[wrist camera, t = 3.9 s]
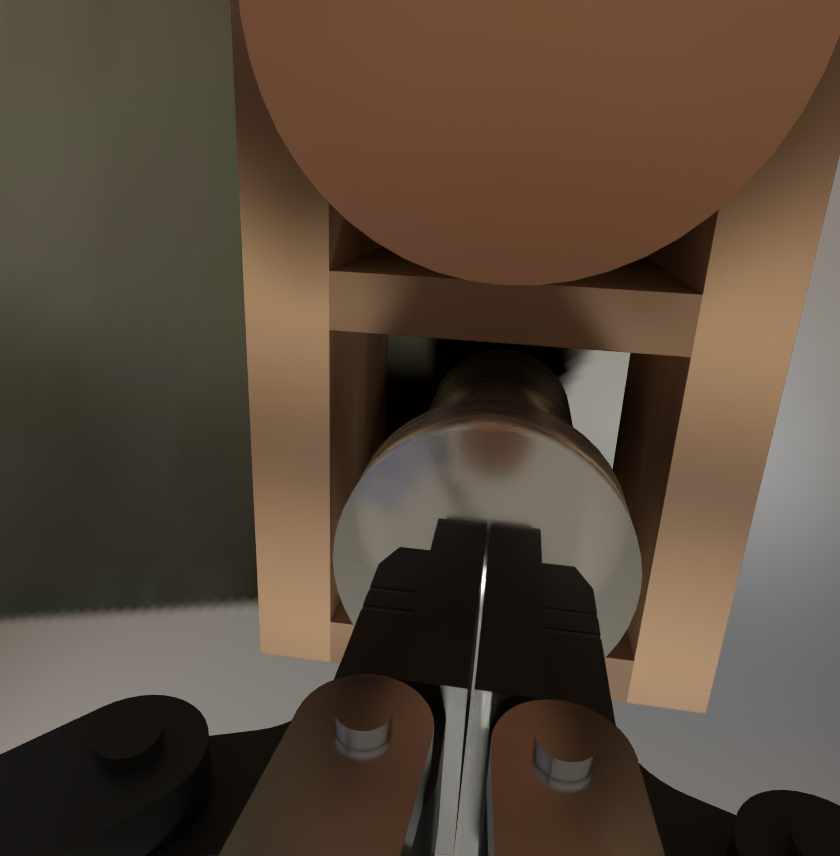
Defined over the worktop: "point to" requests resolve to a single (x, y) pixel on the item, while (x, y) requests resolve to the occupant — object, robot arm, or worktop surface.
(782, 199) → the light wood long tray
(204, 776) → the robot arm
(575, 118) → the terracotta plug
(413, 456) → the steel plug
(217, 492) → the worktop surface
